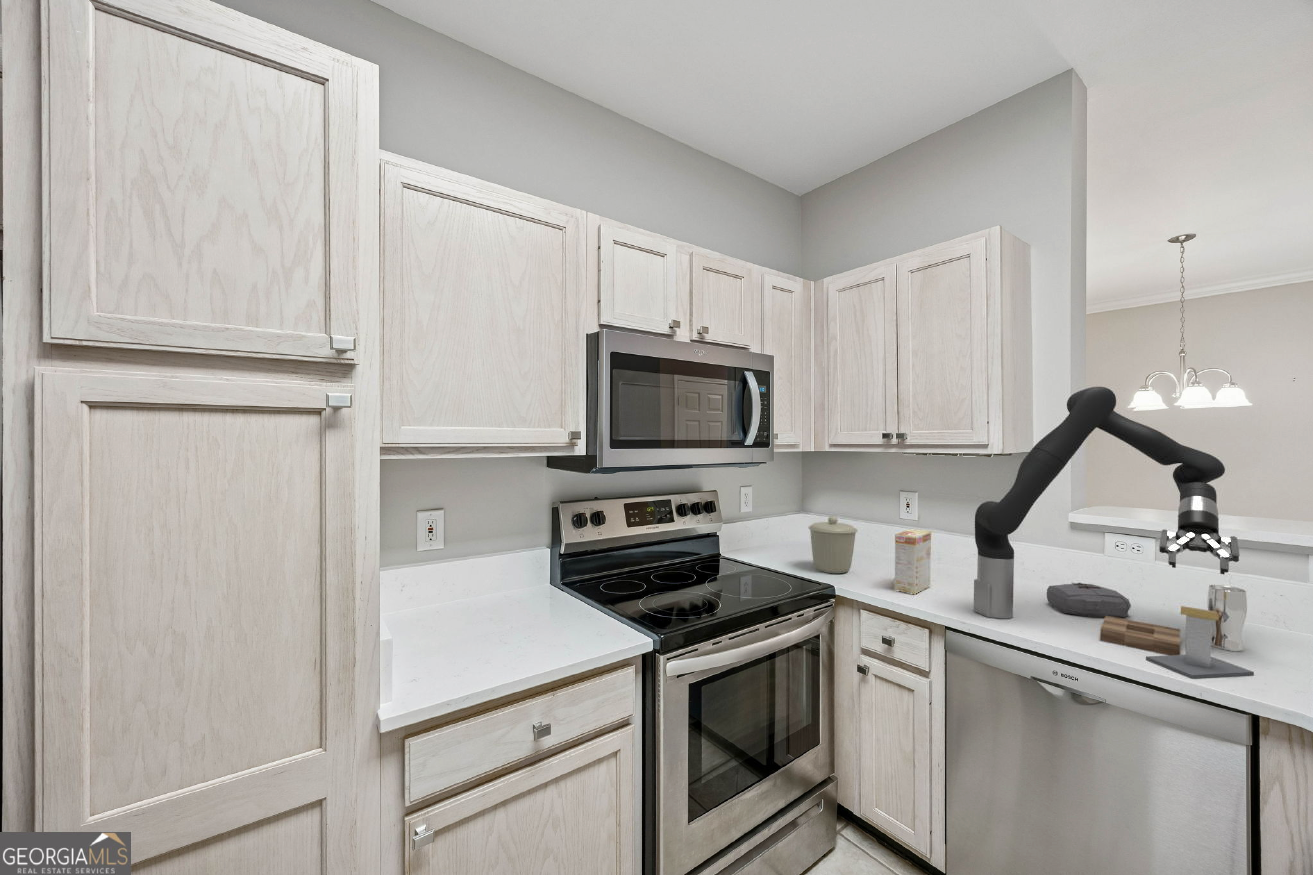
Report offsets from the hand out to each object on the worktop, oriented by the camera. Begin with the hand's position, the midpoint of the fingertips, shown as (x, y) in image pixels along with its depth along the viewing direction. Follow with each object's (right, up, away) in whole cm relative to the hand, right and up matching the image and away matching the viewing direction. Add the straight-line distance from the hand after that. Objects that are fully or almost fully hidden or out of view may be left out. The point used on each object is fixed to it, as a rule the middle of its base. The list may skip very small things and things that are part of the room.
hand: (1197, 569), depth 135 cm
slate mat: (-8, -21, -8) cm, 24 cm away
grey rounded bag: (-2, -21, +32) cm, 38 cm away
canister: (-66, -19, +77) cm, 103 cm away
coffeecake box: (-45, -20, +53) cm, 73 cm away
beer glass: (+11, -21, +4) cm, 24 cm away
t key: (-8, -20, -8) cm, 23 cm away
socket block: (-7, -21, +8) cm, 23 cm away
